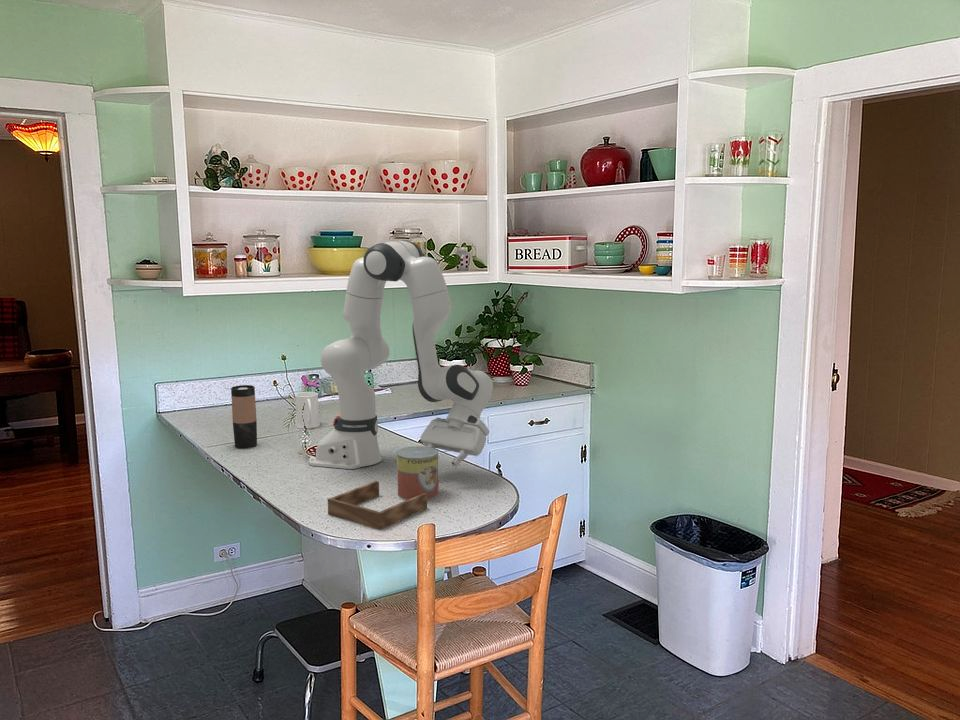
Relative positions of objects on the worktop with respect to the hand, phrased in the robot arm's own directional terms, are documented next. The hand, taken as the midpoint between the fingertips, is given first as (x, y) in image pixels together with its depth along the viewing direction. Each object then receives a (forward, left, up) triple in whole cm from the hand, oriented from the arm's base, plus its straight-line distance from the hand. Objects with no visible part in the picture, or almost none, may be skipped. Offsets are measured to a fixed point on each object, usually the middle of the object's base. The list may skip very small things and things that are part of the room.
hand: (441, 462), depth 227 cm
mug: (-58, +59, -7) cm, 83 cm away
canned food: (-5, -9, -7) cm, 12 cm away
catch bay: (-13, -23, -7) cm, 27 cm away
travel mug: (-71, +33, -7) cm, 79 cm away
